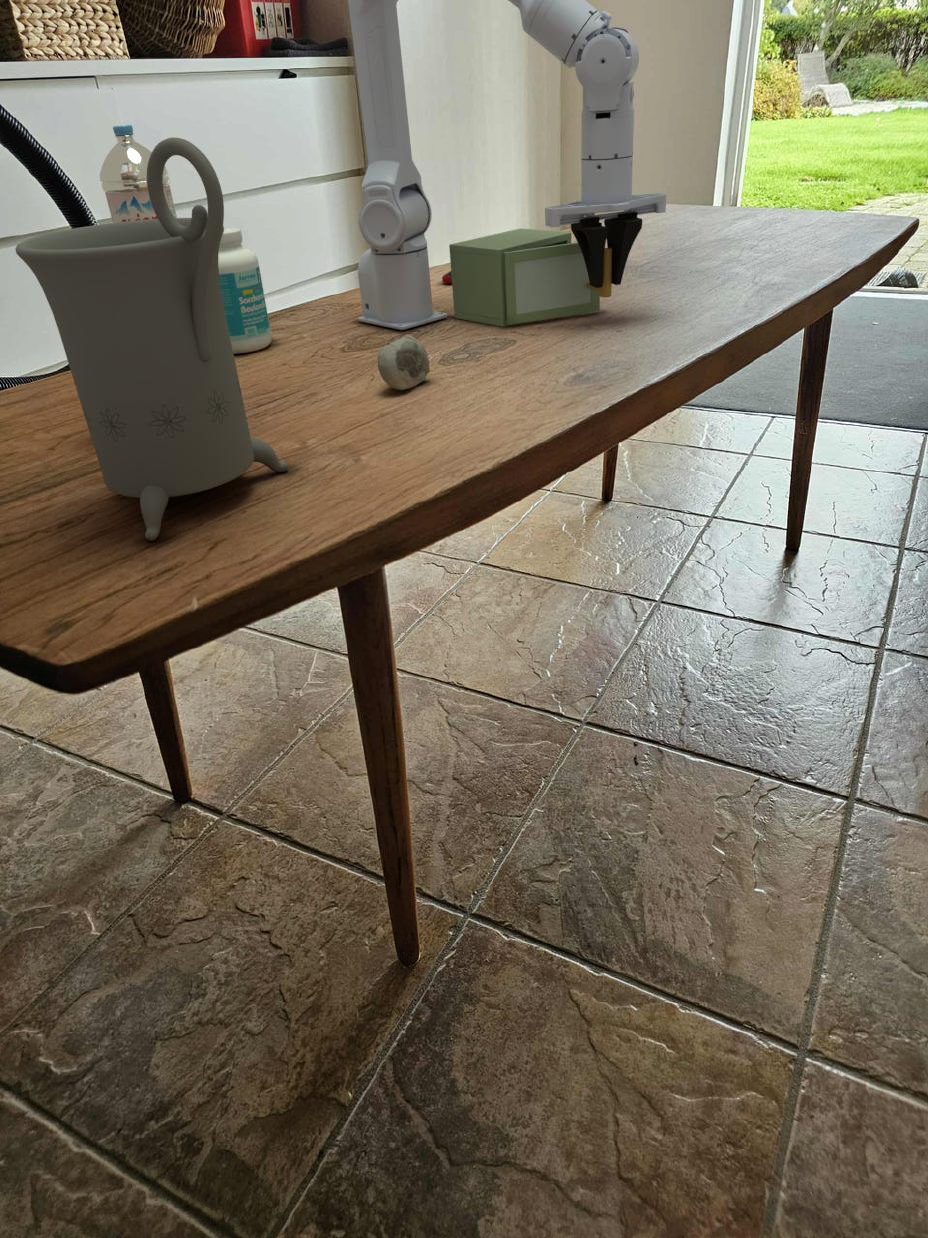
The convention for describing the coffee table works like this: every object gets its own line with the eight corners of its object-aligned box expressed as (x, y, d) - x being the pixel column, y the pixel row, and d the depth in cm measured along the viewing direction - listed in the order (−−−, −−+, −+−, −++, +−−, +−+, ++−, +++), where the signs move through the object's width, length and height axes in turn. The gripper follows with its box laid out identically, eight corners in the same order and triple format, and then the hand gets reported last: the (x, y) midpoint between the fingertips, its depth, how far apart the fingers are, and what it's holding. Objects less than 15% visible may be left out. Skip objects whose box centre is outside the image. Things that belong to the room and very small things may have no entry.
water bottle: (223, 363, 103) (170, 120, 89) (190, 381, 97) (128, 125, 84) (174, 362, 105) (116, 124, 92) (139, 379, 99) (72, 130, 86)
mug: (44, 512, 69) (-84, 156, 55) (185, 448, 79) (106, 134, 66) (209, 561, 59) (104, 148, 46) (345, 481, 70) (291, 124, 56)
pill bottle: (259, 355, 105) (235, 234, 97) (203, 356, 106) (175, 237, 99) (282, 339, 111) (261, 224, 104) (228, 339, 112) (205, 226, 105)
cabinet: (503, 326, 108) (499, 249, 103) (454, 317, 114) (449, 244, 109) (571, 305, 115) (571, 232, 111) (522, 297, 121) (520, 228, 116)
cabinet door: (523, 333, 104) (520, 258, 99) (506, 324, 108) (503, 252, 103) (618, 318, 107) (619, 245, 102) (598, 309, 111) (598, 239, 107)
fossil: (402, 398, 87) (396, 347, 84) (374, 395, 88) (367, 345, 86) (434, 379, 92) (429, 330, 89) (406, 376, 93) (401, 329, 90)
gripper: (562, 166, 92) (564, 299, 99) (683, 152, 95) (675, 281, 103) (536, 162, 98) (539, 288, 105) (650, 149, 101) (645, 272, 108)
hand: (605, 284), depth 104 cm, fingers closed
